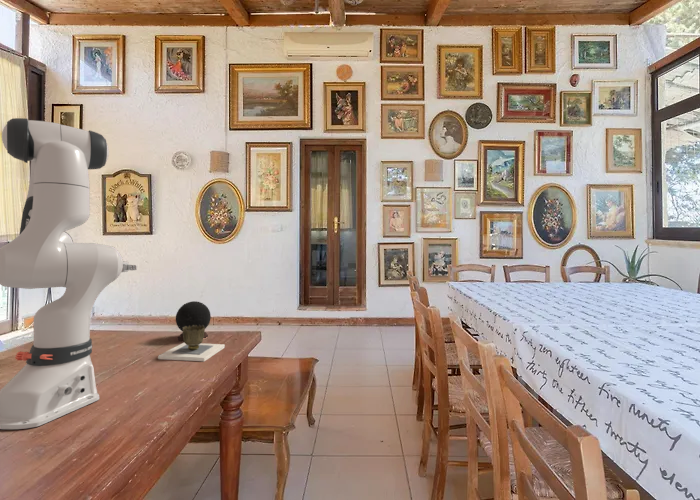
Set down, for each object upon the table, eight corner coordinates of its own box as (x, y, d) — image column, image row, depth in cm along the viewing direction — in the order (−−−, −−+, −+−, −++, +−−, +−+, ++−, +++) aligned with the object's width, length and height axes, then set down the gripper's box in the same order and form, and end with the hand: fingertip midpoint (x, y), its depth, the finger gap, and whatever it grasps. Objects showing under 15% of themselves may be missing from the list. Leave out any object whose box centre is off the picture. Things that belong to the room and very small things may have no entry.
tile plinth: (204, 361, 122) (204, 356, 122) (158, 359, 124) (158, 354, 124) (224, 347, 138) (224, 343, 138) (183, 345, 140) (183, 341, 140)
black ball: (175, 335, 154) (175, 299, 154) (209, 332, 159) (209, 298, 159) (175, 343, 142) (175, 305, 142) (211, 340, 148) (212, 303, 147)
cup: (204, 351, 128) (204, 328, 128) (181, 353, 126) (181, 329, 125) (204, 345, 135) (205, 323, 135) (182, 347, 133) (183, 325, 132)
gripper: (65, 260, 114) (112, 261, 116) (103, 257, 135) (143, 258, 136) (65, 280, 115) (112, 281, 116) (103, 274, 135) (142, 275, 136)
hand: (129, 268), depth 126 cm, fingers open, 8 cm apart
